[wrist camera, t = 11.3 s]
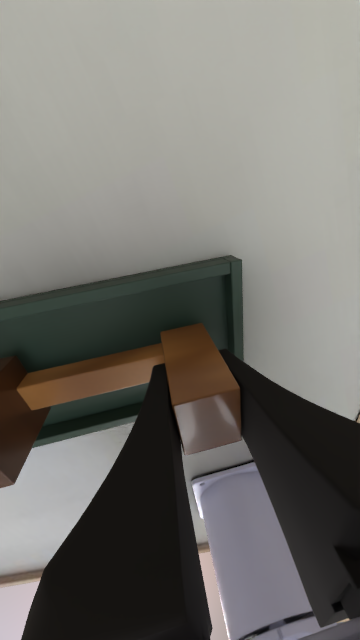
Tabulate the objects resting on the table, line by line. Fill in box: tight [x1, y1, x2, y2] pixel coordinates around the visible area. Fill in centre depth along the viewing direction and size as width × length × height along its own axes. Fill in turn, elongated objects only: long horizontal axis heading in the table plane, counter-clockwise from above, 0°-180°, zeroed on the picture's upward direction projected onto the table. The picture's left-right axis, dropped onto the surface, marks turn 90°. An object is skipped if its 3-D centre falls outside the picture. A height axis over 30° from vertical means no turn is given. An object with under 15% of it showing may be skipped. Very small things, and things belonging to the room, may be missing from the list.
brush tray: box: [0, 255, 244, 448], centre depth 12 cm, size 16×9×1 cm, turn 99°
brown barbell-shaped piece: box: [0, 323, 242, 488], centre depth 9 cm, size 12×4×5 cm, turn 99°
